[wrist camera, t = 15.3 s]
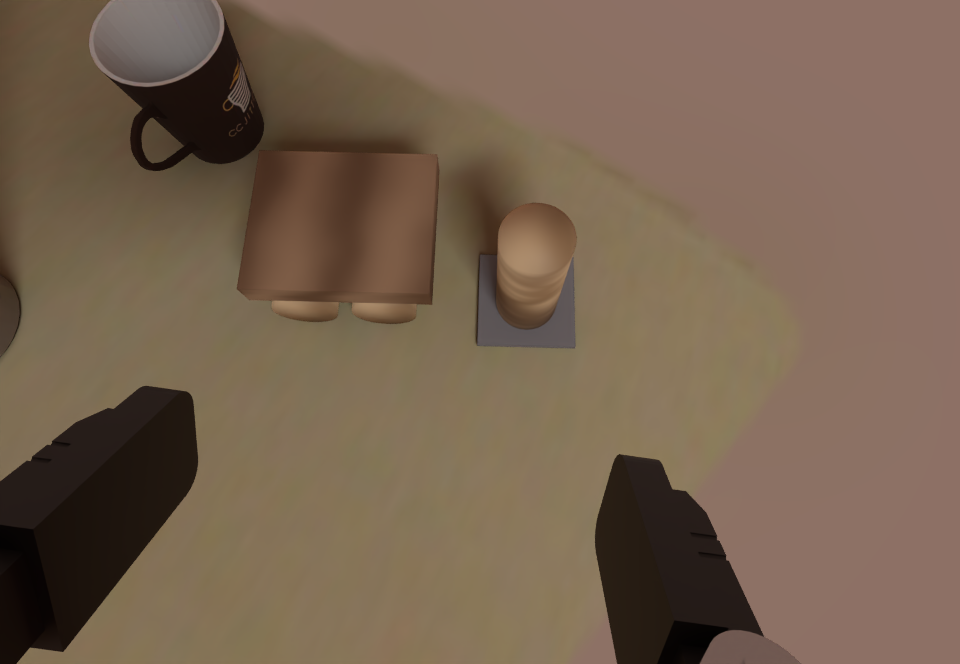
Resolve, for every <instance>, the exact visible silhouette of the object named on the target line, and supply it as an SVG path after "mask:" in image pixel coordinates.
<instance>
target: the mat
mask: <svg viewBox="0 0 960 664" xmlns="http://www.w3.org/2000/svg"><path fill="white" fill-rule="evenodd" d="M496 287H497V255H480V273H479V308H478V343H477V346H506V347H545V348H575V308H574V266H573V257H572V260H571V263H570V266H569V269H568V272H567V275H566V278H565V281H564V284H563V287H562V290H561V293H560V296H559V299H558V303H557V306H556V309H555V312H554V314H553V316H552V317H551V319H550V320H549V321H548V322H547V323H546V324H544V325H542V326H541V327H538V328H535V329H530V330H523V329H518V328H515V327H513V326H511V325H509V324H508V323H507V322H505V321H504V320H503V319H502V317H501V316H500V314H499V312H498V309H497V306H496Z"/></svg>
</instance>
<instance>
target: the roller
mask: <svg viewBox="0 0 960 664" xmlns="http://www.w3.org/2000/svg"><path fill="white" fill-rule="evenodd" d="M576 242H577V237H576V231H575V228H574V225H573V223H572V222H571V220H570V219H569V217H568V216H567V215H566V214H565V213H564V212H562V211H561V210H559V209H558V208H556V207H554V206H551V205H548V204H543V203H530V204H525V205H522V206H519V207H517V208H515V209H514V210H512V211H511V212H510V213H509V214H508V215H507V216H506V217H505V218H504V220H503V221H502V223H501V225H500V228H499V232H498V254H497V287H496V306H497V309H498V312H499V314H500V316H501V317H502V319H503V320H504V321H505V322H507V323H508V324H509V325H511V326H513V327H515V328H518V329H523V330H530V329H535V328H538V327H541V326H542V325H544V324H546V323H547V322H548V321H549V320H550V319H551V317H552V316H553V314H554V312H555V309H556V306H557V303H558V299H559V296H560V293H561V290H562V287H563V284H564V281H565V278H566V275H567V272H568V269H569V266H570V263H571V260H572V257H573V253H574V250H575V247H576Z"/></svg>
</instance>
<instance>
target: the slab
mask: <svg viewBox="0 0 960 664" xmlns="http://www.w3.org/2000/svg"><path fill="white" fill-rule="evenodd" d="M438 186H439V165H438V157H437V154H396V153H352V152H309V151H265V150H259V156H258V162H257V168H256V174H255V180H254V187H253V193H252V199H251V205H250V211H249V217H248V223H247V229H246V235H245V241H244V248H243V254H242V260H241V266H240V272H239V278H238V284H237V290H239V291H240V292H241V293H242V294H243V295H244V296H245V297H247V298H248V299H249V300H269V301H272V310H273V311H274V312H275V313H277V314H279V315H281V316H283V317H286V318H290V319H294V320H300V321H308V322H324V321H330V320H333V319H335V318H337V316H338V307H339V302H349V303H352V313H353V314H354V315H355V316H356V317H358V318H360V319H363V320H366V321H370V322H376V323H385V324H398V323H405V322H409V321H412V320H414V319H415V318H416V309H417V304H429V305H432V296H433V278H434V259H435V241H436V223H437V204H438Z"/></svg>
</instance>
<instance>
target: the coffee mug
mask: <svg viewBox="0 0 960 664" xmlns="http://www.w3.org/2000/svg"><path fill="white" fill-rule="evenodd" d="M89 47H90V53H91V56H92V58H93V60H94V62H95V64H96V65H97V66H98V67H99V69H100V70H101V71H102V72H103V73H104V74H105V75H106V76H107V77H109V78H110V79H111V80H112V81H113V82H114V83H115V84H116V85H117V86H119V87H120V88H121V89H122V90H123V91H124V92H125V93H126V94H127V95H128V96H130V97H131V98H132V99H133V100H134V101H135V102H136V103H137V104H138V105H140V106H141V107H142V108H143V109H142V110H141V111H140V112H139V113H138V114H137V115H136V116H135V118H134V120H133V124H132V128H131V137H130V141H131V150H132V153H133V155H134V157H135V159H136V160H137V162H138V163H139V165H140V166H141V167H143V168H144V169H147V170H152V171H161V170H165V169H167V168H170V167H172V166H174V165H175V164H177V163H178V162H180V161H181V160H183V159H184V158H185V157H187V156H188V155H189V154H190V153H193V154H194V155H195V156H196V157H198V158H199V159H201V160H203V161H206V162H209V163H216V164H223V163H230V162H234V161H237V160H239V159H241V158H243V157H245V156H246V155H248V154H249V153H250V152H251V151H252V150H254V149H255V147H256V146H257V145H258V143H259V142H260V140H261V137H262V135H263V130H264V122H263V118H262V115H261V112H260V110H259V107H258V104H257V102H256V99H255V96H254V94H253V91H252V89H251V86H250V83H249V81H248V78H247V75H246V73H245V70H244V67H243V65H242V62H241V60H240V57H239V54H238V52H237V49H236V46H235V44H234V41H233V38H232V36H231V33H230V31H229V28H228V25H227V23H226V20H225V17H224V15H223V12H222V10H221V8H220V6H219V4H218V2H217V1H216V0H111V1H110V2H109V3H107V5H106V6H105V7H104V8H103V9H102V10H101V11H100V12H99V14H98V16H97V17H96V19H95V21H94V23H93V25H92V28H91V31H90V38H89ZM152 117H153V118H154V119H155V120H156V121H157V122H158V123H159V124H161V125H162V126H163V127H164V128H165V129H166V130H167V131H168V132H169V133H171V134H172V135H173V136H174V137H175V138H176V139H177V140H178V141H179V142H181V143H182V144H183V145H184V147H183V148H181V149H180V150H179V151H177V152H176V153H175V154H173V155H172V156H170V157H169V158H167V159H166V160H164V161H162V162H159V163H151V162H150V161H148V160H147V158H146V157H145V155H144V152H143V149H142V142H141V136H142V130H143V127H144V125H145V123H146V122H147V121H148V120H149V119H150V118H152Z"/></svg>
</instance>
